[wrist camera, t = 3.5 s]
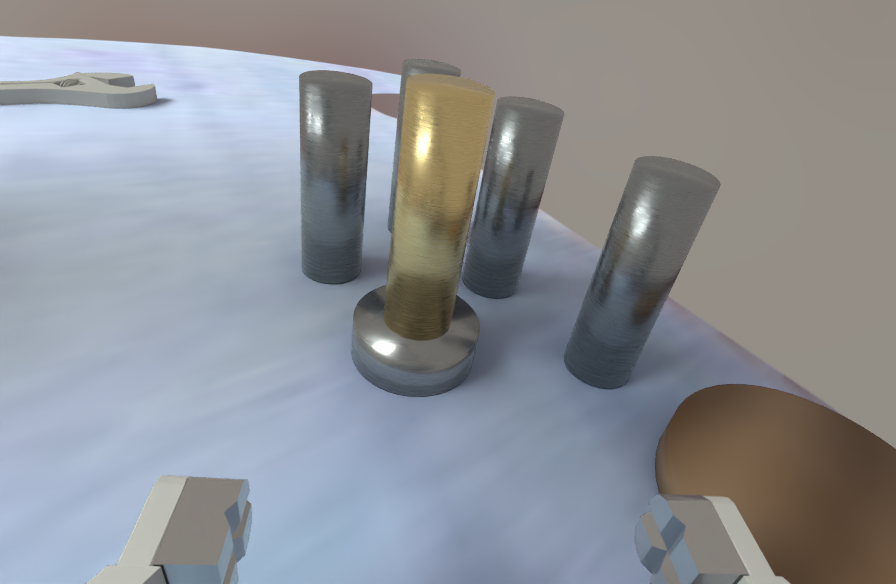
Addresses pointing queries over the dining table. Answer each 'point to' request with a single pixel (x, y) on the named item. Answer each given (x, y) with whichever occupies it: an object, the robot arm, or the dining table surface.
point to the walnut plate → (789, 480)
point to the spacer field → (505, 214)
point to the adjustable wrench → (80, 91)
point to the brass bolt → (427, 244)
